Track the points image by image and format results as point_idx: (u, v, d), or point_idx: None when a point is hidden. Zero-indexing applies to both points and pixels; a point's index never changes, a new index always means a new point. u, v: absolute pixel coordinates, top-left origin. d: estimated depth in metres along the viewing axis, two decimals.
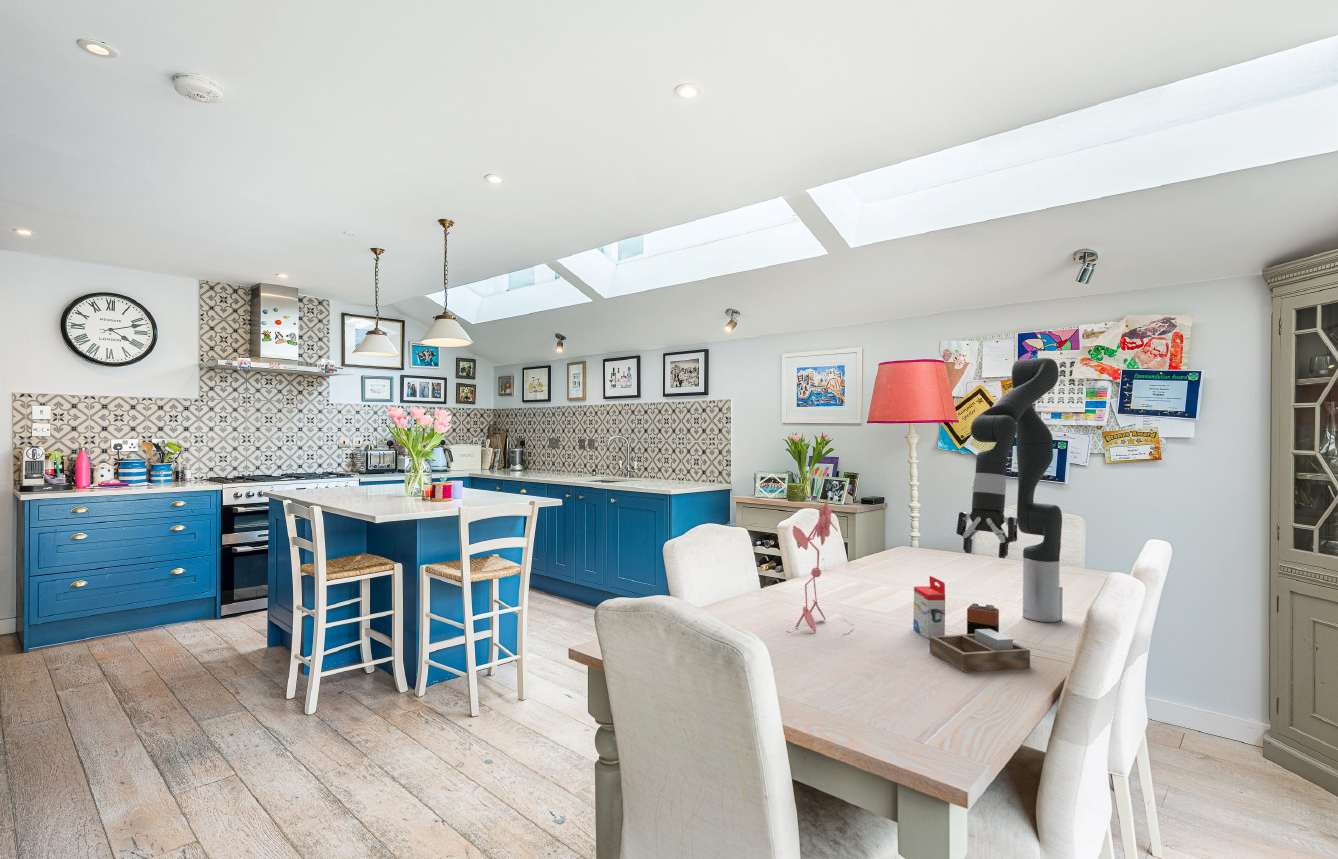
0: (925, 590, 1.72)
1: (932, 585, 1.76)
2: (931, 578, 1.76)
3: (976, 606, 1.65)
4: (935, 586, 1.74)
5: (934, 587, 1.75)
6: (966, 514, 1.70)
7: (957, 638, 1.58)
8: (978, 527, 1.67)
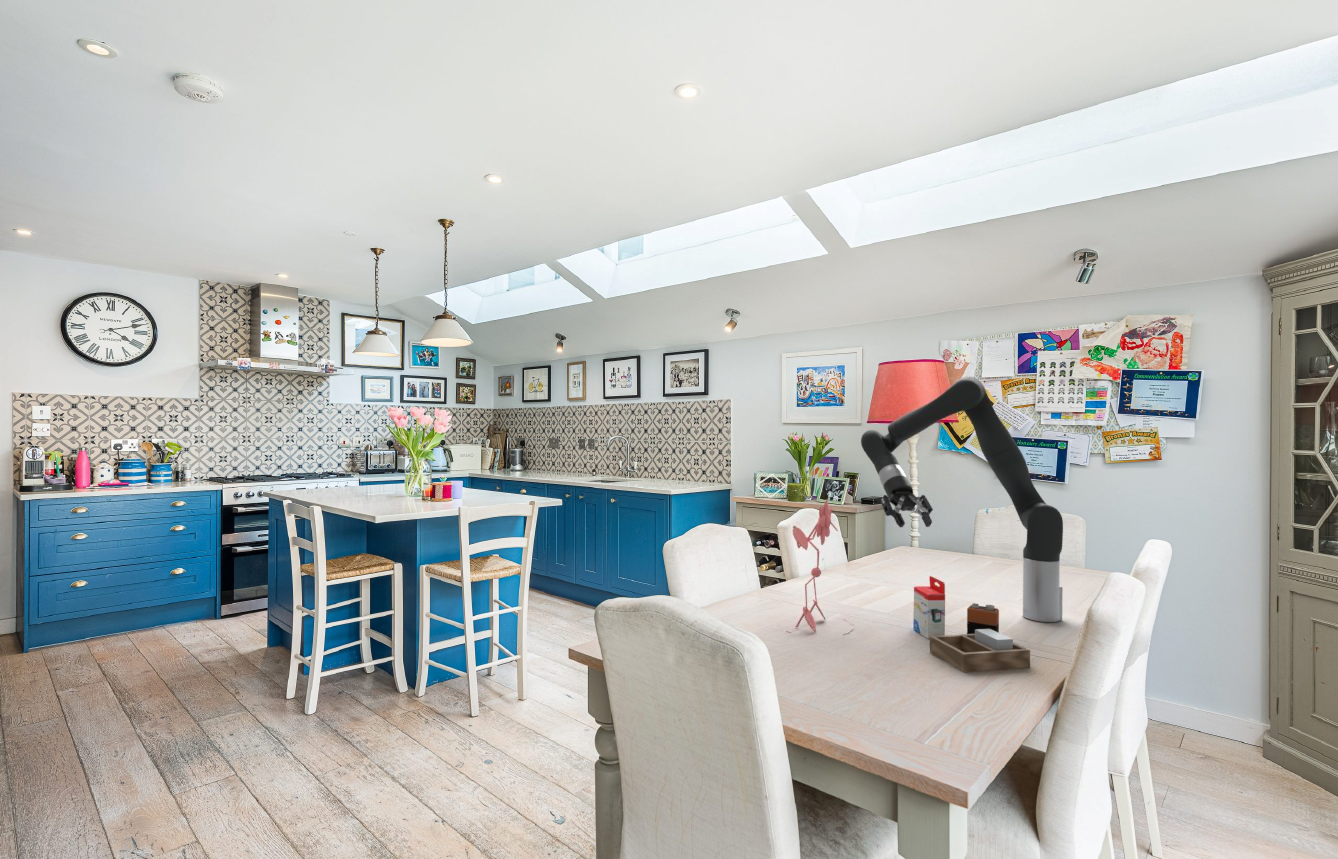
0: (925, 590, 1.72)
1: (932, 585, 1.76)
2: (931, 578, 1.76)
3: (976, 606, 1.65)
4: (935, 586, 1.74)
5: (934, 587, 1.75)
6: None
7: (957, 638, 1.58)
8: None
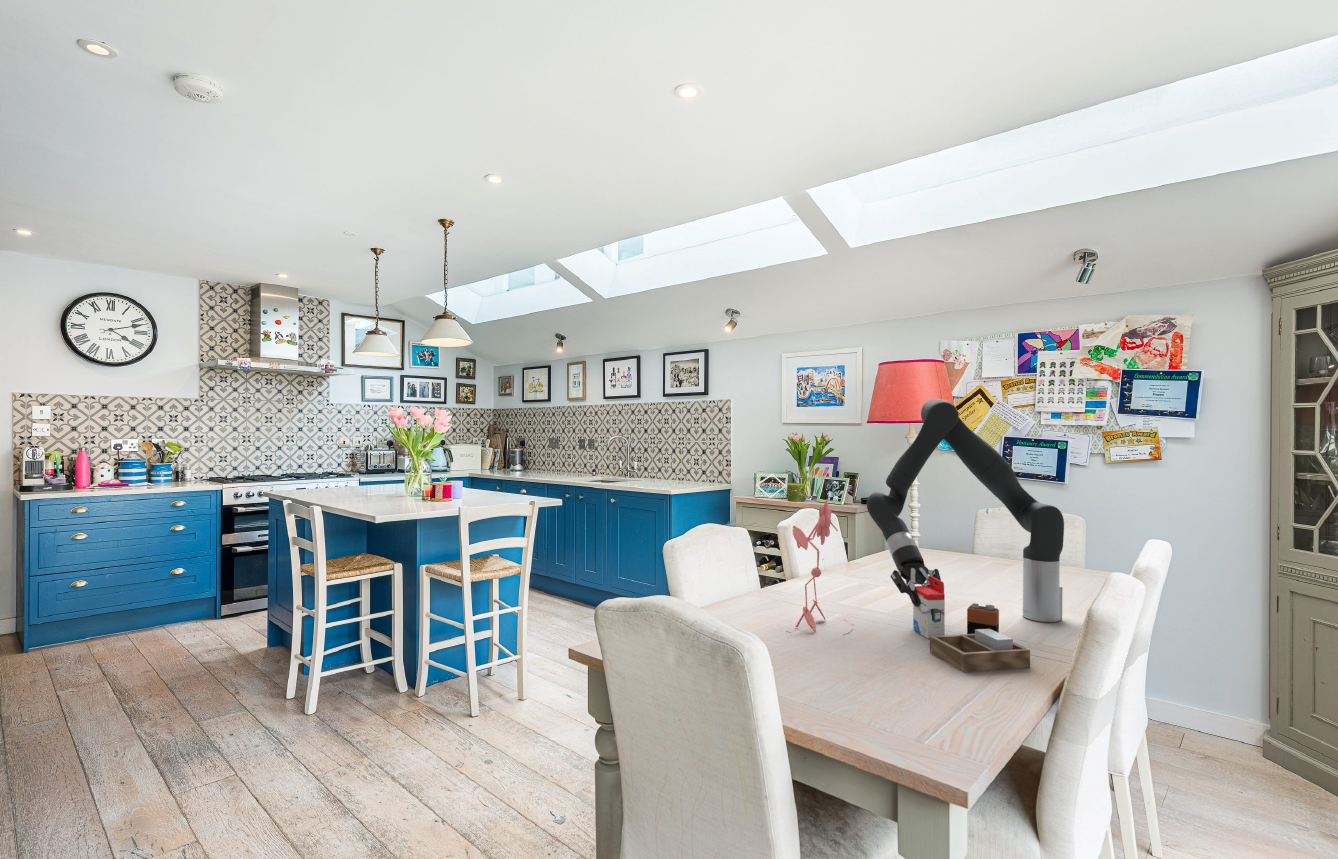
0: (924, 590, 1.72)
1: (931, 585, 1.76)
2: (930, 578, 1.76)
3: (976, 606, 1.65)
4: (934, 586, 1.74)
5: (933, 587, 1.75)
6: None
7: (957, 638, 1.58)
8: None
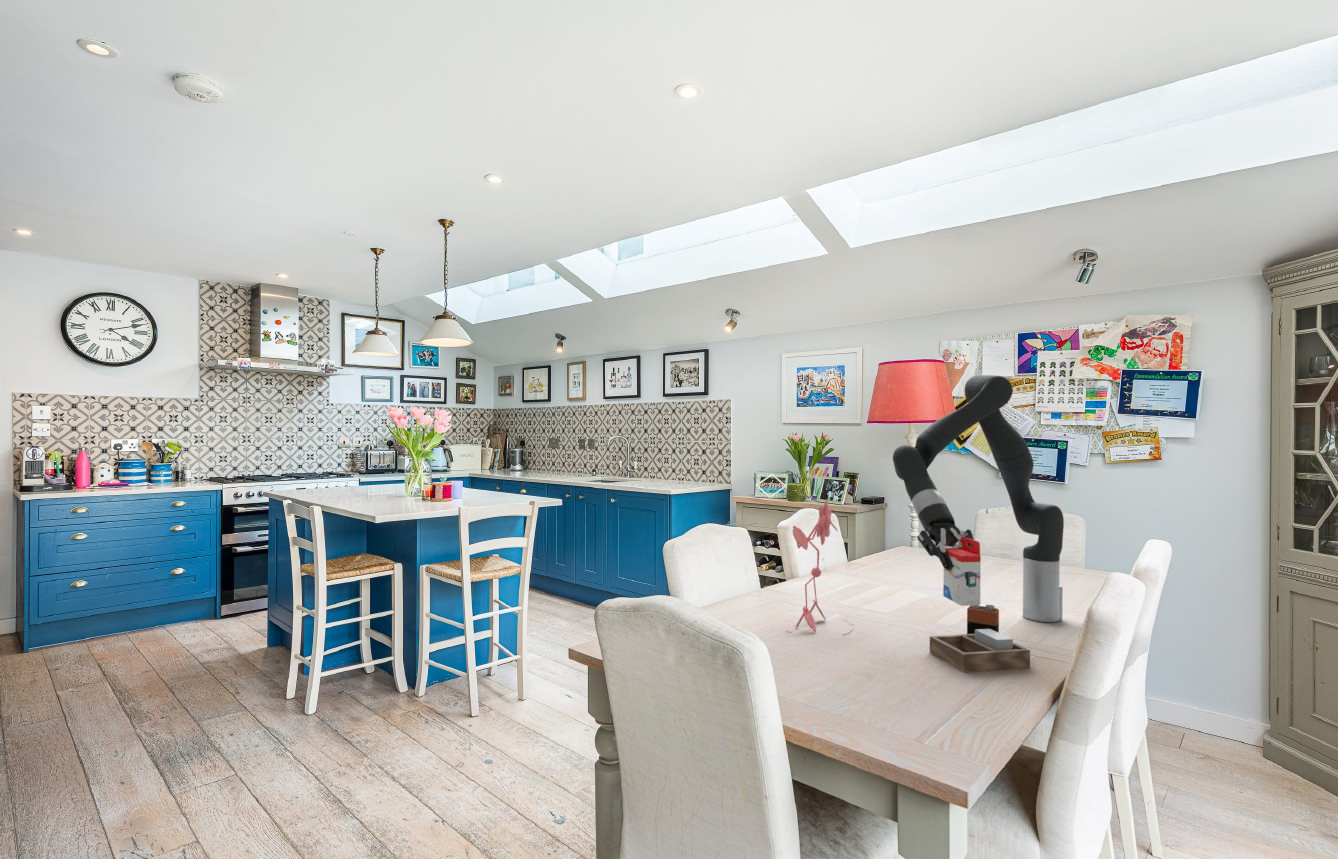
0: (957, 551, 1.53)
1: (964, 546, 1.56)
2: (963, 538, 1.56)
3: (976, 606, 1.65)
4: (968, 547, 1.54)
5: (967, 548, 1.55)
6: None
7: (957, 638, 1.58)
8: None
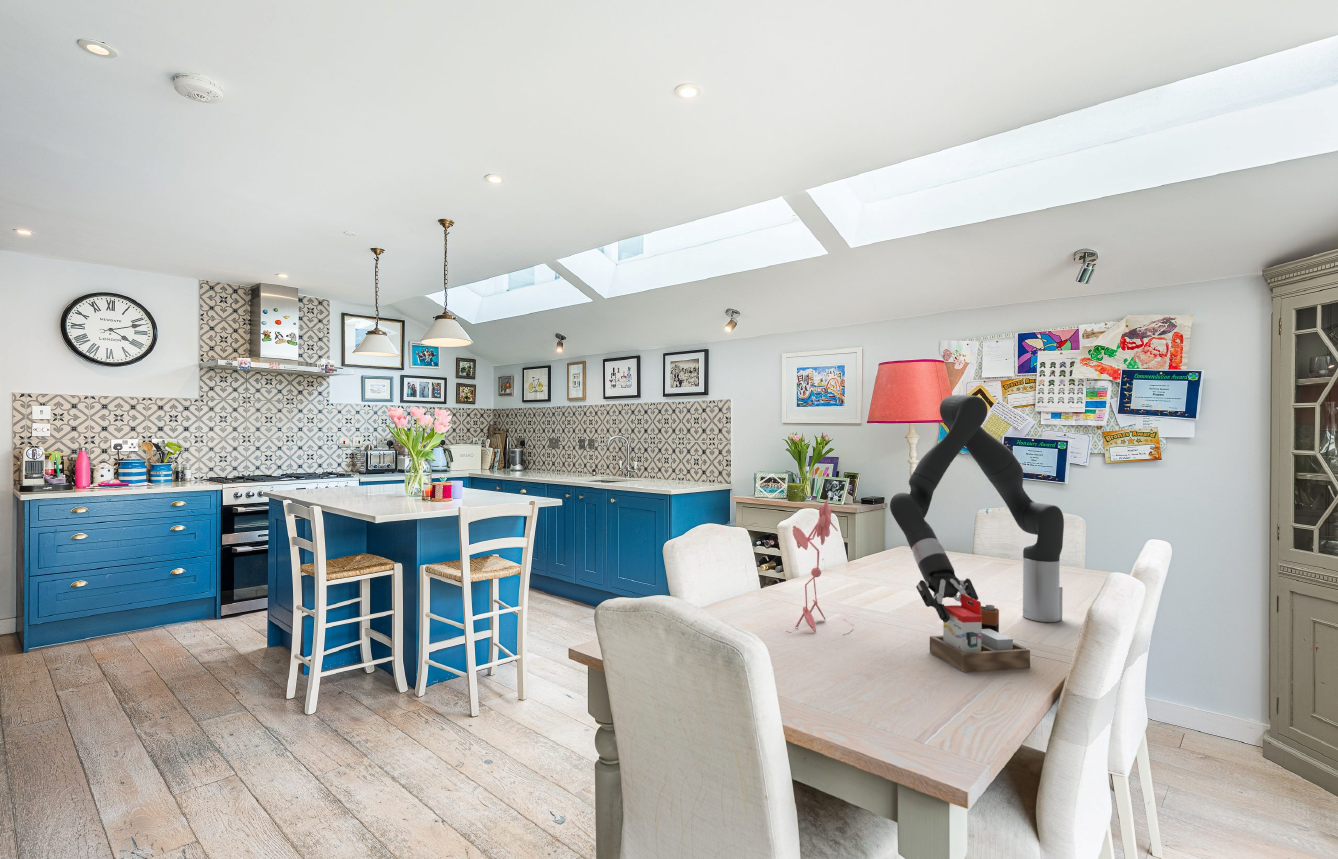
0: (958, 610, 1.53)
1: (964, 604, 1.56)
2: (963, 596, 1.57)
3: None
4: (968, 605, 1.55)
5: (967, 606, 1.55)
6: None
7: None
8: None
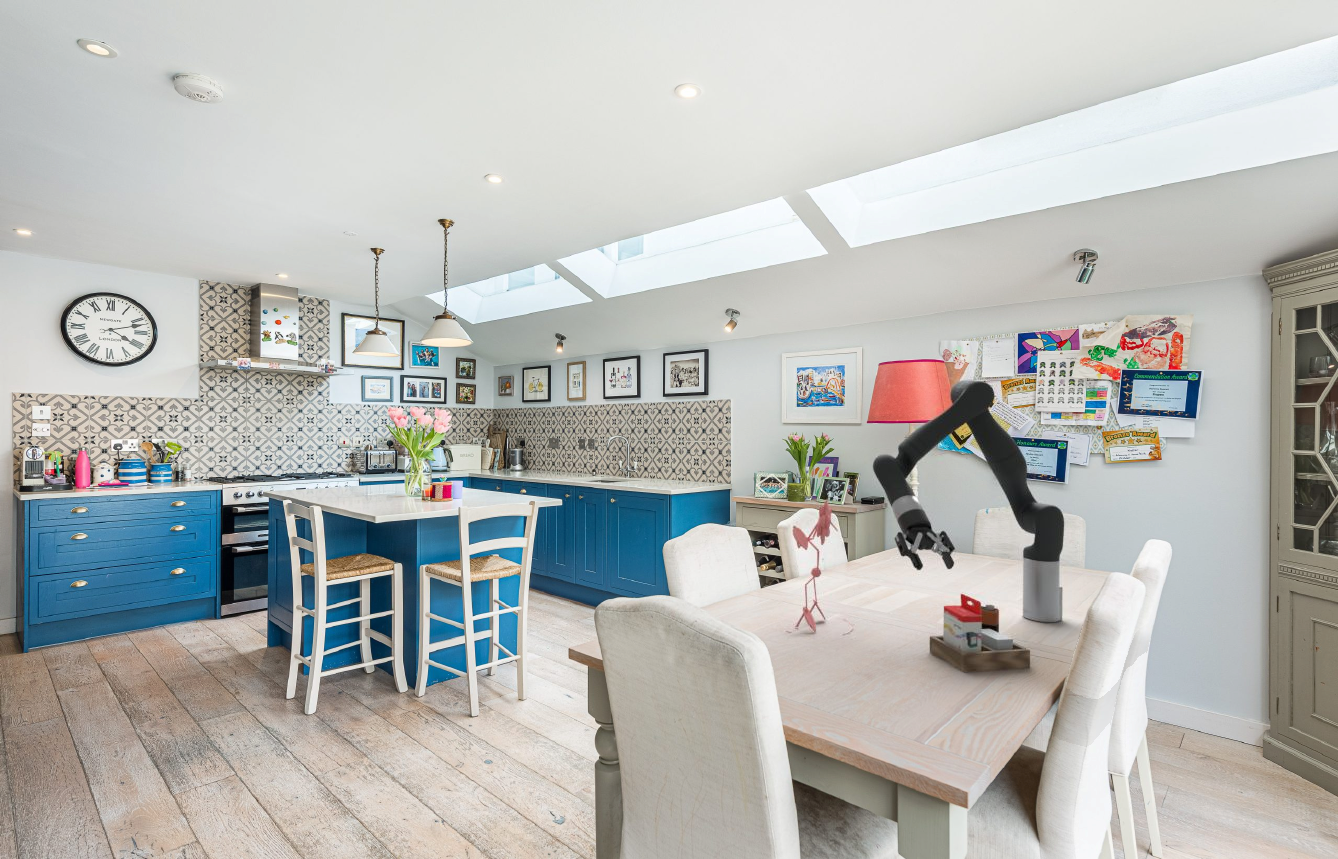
0: (958, 610, 1.53)
1: (964, 604, 1.56)
2: (963, 596, 1.57)
3: None
4: (968, 605, 1.55)
5: (967, 606, 1.55)
6: None
7: None
8: None
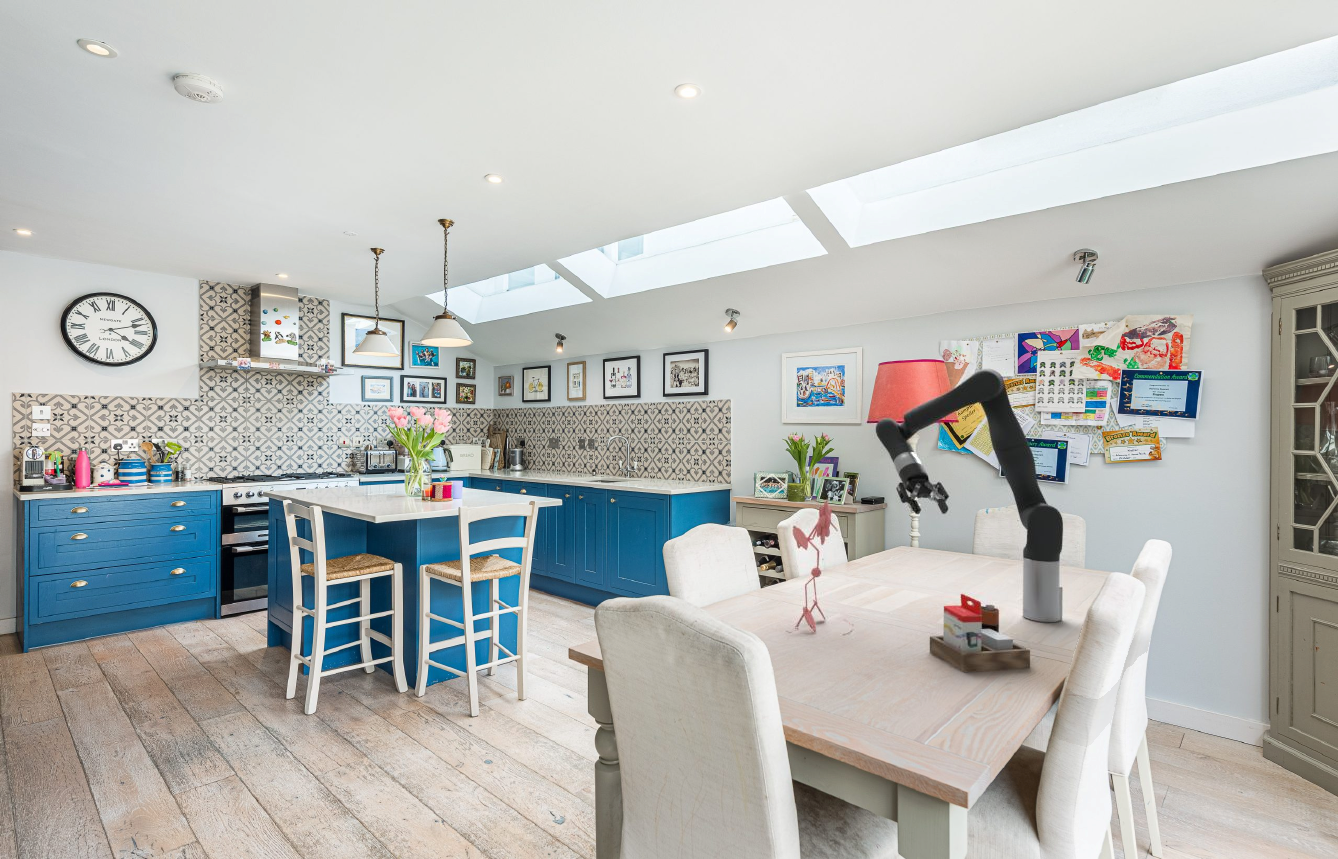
0: (958, 610, 1.53)
1: (964, 604, 1.56)
2: (963, 596, 1.57)
3: None
4: (968, 605, 1.55)
5: (967, 606, 1.55)
6: None
7: None
8: None
